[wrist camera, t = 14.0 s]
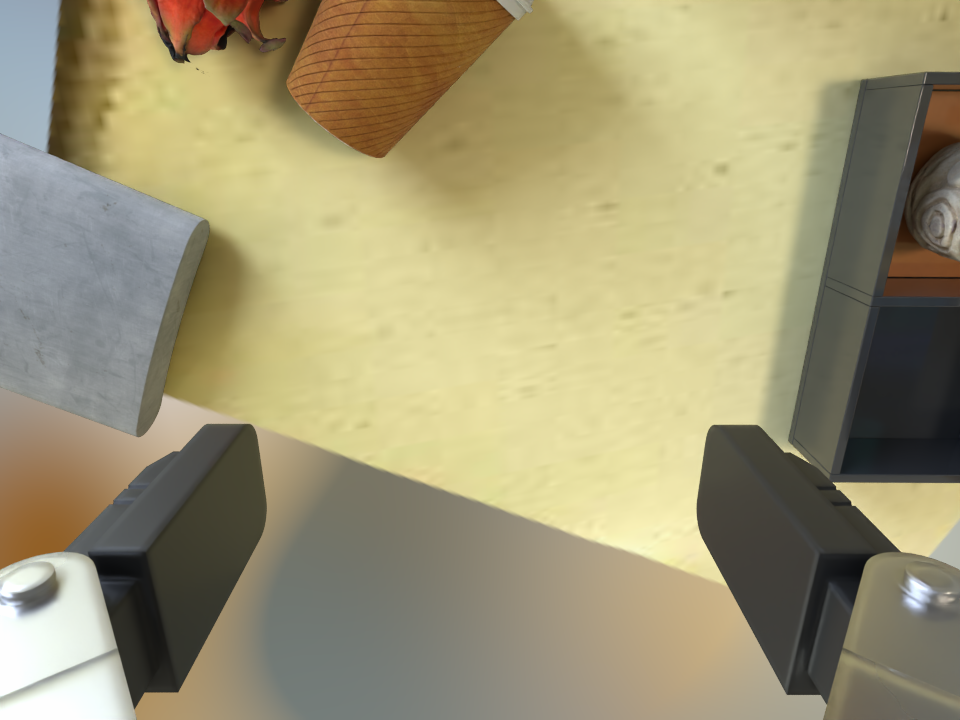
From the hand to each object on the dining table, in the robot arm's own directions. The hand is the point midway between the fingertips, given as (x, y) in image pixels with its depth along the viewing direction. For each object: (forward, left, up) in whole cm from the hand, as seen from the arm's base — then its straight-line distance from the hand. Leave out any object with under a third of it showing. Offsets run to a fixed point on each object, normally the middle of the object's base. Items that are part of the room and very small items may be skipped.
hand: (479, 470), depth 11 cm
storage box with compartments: (+3, +28, -30) cm, 42 cm away
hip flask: (+7, -20, -28) cm, 35 cm away
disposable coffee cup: (-6, -8, -27) cm, 29 cm away
